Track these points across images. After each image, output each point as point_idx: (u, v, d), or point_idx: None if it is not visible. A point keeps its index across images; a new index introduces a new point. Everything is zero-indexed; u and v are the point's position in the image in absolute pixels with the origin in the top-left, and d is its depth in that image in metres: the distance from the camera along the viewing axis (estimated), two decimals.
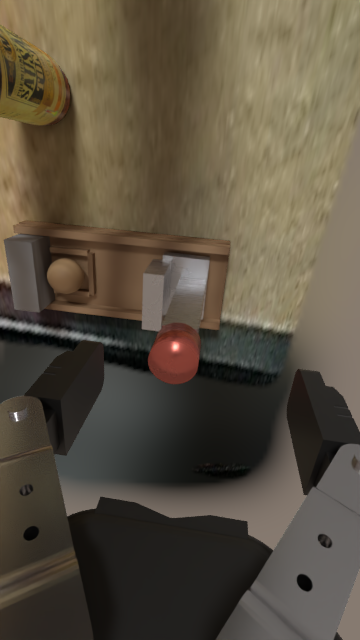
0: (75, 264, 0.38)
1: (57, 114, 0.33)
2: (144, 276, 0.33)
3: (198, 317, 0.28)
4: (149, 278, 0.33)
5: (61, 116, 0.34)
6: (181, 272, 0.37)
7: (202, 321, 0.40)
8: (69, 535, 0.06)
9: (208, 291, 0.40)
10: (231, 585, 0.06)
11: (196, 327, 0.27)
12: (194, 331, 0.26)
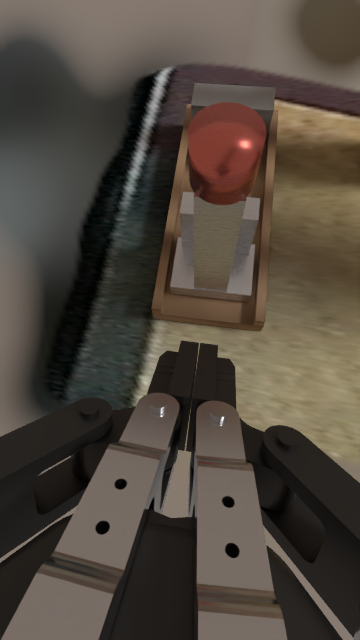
0: None
1: None
2: (256, 199, 0.26)
3: (241, 223, 0.20)
4: (253, 204, 0.26)
5: None
6: (235, 264, 0.30)
7: (163, 289, 0.31)
8: (127, 553, 0.06)
9: (201, 300, 0.31)
10: None
11: (245, 203, 0.18)
12: (246, 194, 0.18)
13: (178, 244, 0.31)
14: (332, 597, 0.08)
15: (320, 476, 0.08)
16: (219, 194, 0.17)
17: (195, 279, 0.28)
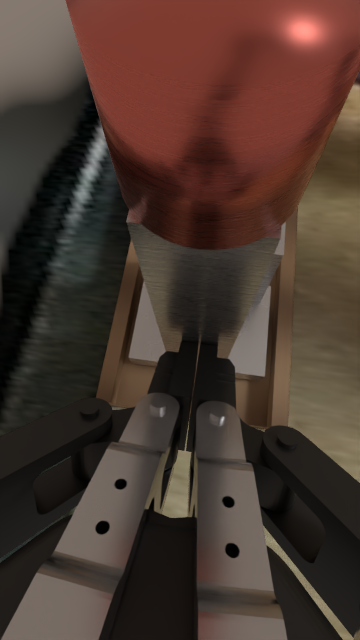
0: None
1: None
2: None
3: None
4: None
5: None
6: None
7: (118, 364, 0.18)
8: (128, 553, 0.06)
9: None
10: None
11: None
12: (282, 218, 0.06)
13: None
14: (332, 597, 0.08)
15: (320, 476, 0.08)
16: (198, 220, 0.05)
17: None
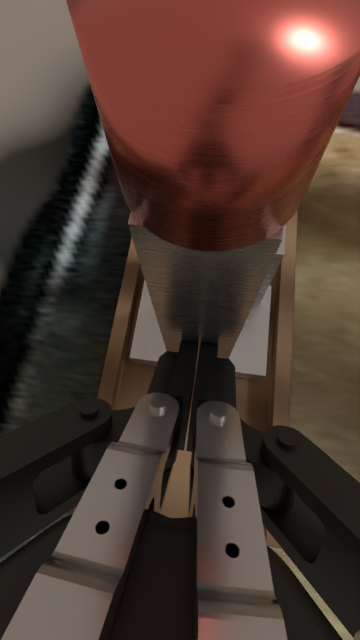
0: None
1: None
2: None
3: None
4: None
5: None
6: None
7: None
8: (127, 553, 0.06)
9: None
10: None
11: None
12: (284, 219, 0.06)
13: (146, 284, 0.19)
14: (332, 597, 0.08)
15: (320, 476, 0.08)
16: (200, 222, 0.05)
17: None
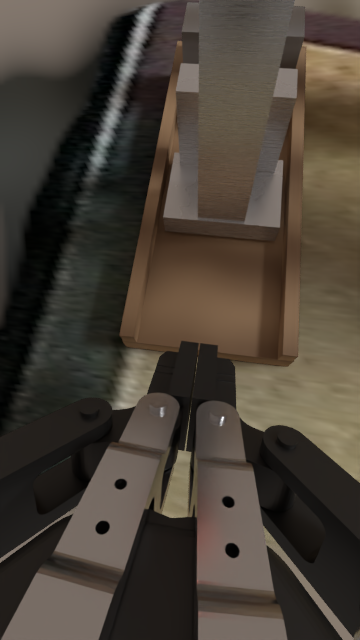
0: None
1: None
2: (291, 70, 0.17)
3: (284, 42, 0.11)
4: (288, 77, 0.17)
5: None
6: (255, 186, 0.21)
7: (139, 304, 0.20)
8: (128, 553, 0.06)
9: (198, 321, 0.21)
10: None
11: None
12: None
13: (175, 161, 0.22)
14: (332, 597, 0.08)
15: (320, 476, 0.08)
16: None
17: (199, 199, 0.19)
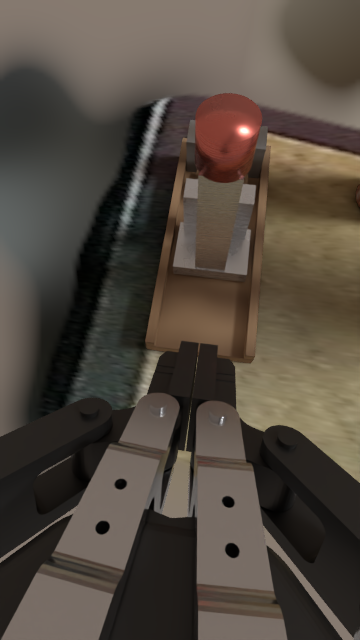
0: None
1: None
2: (252, 186, 0.29)
3: (239, 201, 0.23)
4: (250, 190, 0.29)
5: None
6: (232, 246, 0.33)
7: (157, 322, 0.32)
8: (127, 553, 0.06)
9: (194, 333, 0.32)
10: None
11: None
12: (244, 173, 0.21)
13: (180, 228, 0.34)
14: (332, 597, 0.08)
15: (320, 476, 0.08)
16: (221, 172, 0.20)
17: (196, 258, 0.31)
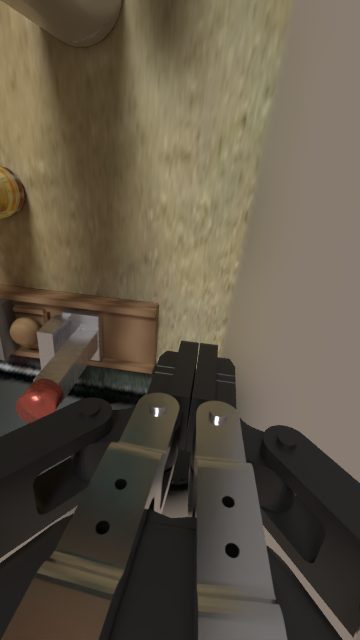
0: (33, 322, 0.47)
1: (13, 211, 0.42)
2: (37, 334, 0.42)
3: (66, 371, 0.38)
4: (41, 335, 0.42)
5: (18, 210, 0.43)
6: (78, 325, 0.47)
7: (138, 366, 0.49)
8: (127, 553, 0.06)
9: (142, 342, 0.49)
10: None
11: (59, 381, 0.36)
12: (55, 385, 0.36)
13: None
14: (332, 597, 0.08)
15: (320, 476, 0.08)
16: (59, 399, 0.36)
17: (93, 354, 0.46)
